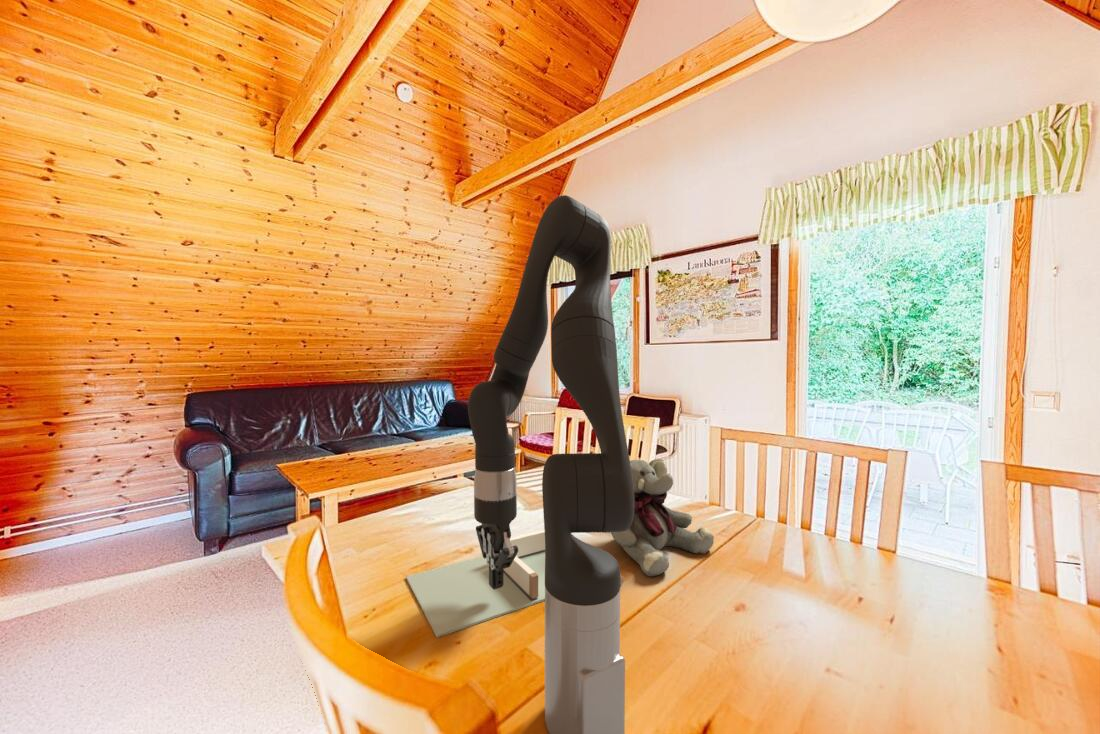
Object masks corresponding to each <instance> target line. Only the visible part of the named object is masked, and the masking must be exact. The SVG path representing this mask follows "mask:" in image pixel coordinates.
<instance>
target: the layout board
mask: <svg viewBox="0 0 1100 734" xmlns="http://www.w3.org/2000/svg"><path fill="white" fill-rule="evenodd" d="M518 558H519V559H521V560H522V561H523V562H524V563H525V564H526V565H527V566H528V567H530V568H531V569H532V570H533V571H534V572H535V573H536V574H537V575H538V597H536V598H533V599H532V598H531V597H530V596H529V595H528V594H527V593H526V592H525V591H524V590H523V589H522V588H521V587H520V586H519V585H518V584H517V583H516V582H515V581H514V580H513V579H512V578H511V577H510V576H509V575H508V574H507V573H506V572H505V571H504V570H503V586H502V587H501V588H498V589H495V590H494V589H492V588H491V586H490V585H489V566H488V565H487V562H486V558H485V559H484V558H483V555H481V556H478V557H475V558H474V557H473V558H470V559H465V560H462V561H459V562H456V563H452V564H447V565H443V566H439V567H436V568H432V569H429V570H424V571H420V572H416V573H413V574H408V575H405V580H406V581H407V584H408V585H409V587H410V589H411V591H412V592H413V595H414V596H415V598H416V600H417V602H418V605H419V606H420V608H421V610H422V612H423V614H424V616H425V618H426V620H427V622H428V623H429V626H430V627H431V629H432V631H433V633H434V636H435V637H436V638H440V637H442V636H446V635H449V634H451V633H454V632H457V631H460V630H463V629H466V628H469V627H472V626H475V625H478V624H480V623H484V622H486V621H489V620H492V619H495V618H498V617H501V616H503V615H507V614H510V613H513V612H517V611H519V610H521V609H525V608H528V607H530V606H533V605H536V604H538V603H542V602H545V550H542V551H538V552H534V553H531V554H527V555H524V556H520V557H518Z"/></svg>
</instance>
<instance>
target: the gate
mask: <svg viewBox="0 0 1100 734" xmlns="http://www.w3.org/2000/svg"><path fill="white" fill-rule="evenodd" d="M503 570H504V571H505V572H506V573H507V574H508V575H509V576H510V577H511V578H512V579H513V580H514V581H515V582H516V583H517V584H518V585H519V586H520V587H521V588H522V589H523V590H524V591H525V592H526V593H527V594H528V595H529V596H530V597H531V598H532V599H533V598H536V597H538V575H537V574H536V573H535V572H534V571H533V570H532V569H531V568H530V567H528V566H527V565H526V564H525V563H524V562H523V561H522V560H521V559H519V558H518V557H517V556H516V557H515V558H514V560H513V562H512V564H511V566H510V567H508V568H505V569H503Z"/></svg>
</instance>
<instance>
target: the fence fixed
mask: <svg viewBox="0 0 1100 734" xmlns="http://www.w3.org/2000/svg"><path fill="white" fill-rule="evenodd" d="M510 542H511V544H512V546H515V545H516V546H517V547H518V553H517V555H516V556H517V557H520V556H524V555H527V554H531V553H534V552H538V551H542V550H545V529H540V530H537V531H534V532H528V533H525V534H522V535H517V536H514V537H512V536H511V538H510Z"/></svg>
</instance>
